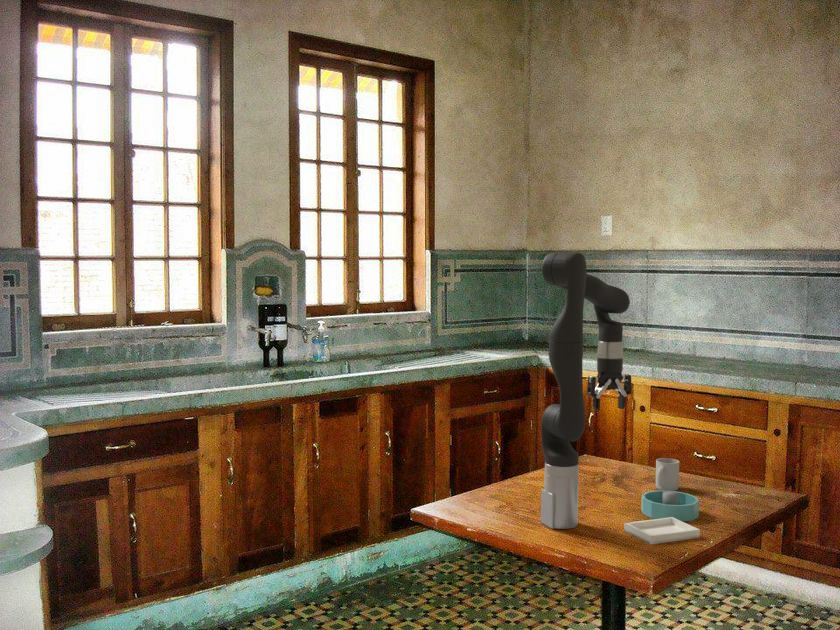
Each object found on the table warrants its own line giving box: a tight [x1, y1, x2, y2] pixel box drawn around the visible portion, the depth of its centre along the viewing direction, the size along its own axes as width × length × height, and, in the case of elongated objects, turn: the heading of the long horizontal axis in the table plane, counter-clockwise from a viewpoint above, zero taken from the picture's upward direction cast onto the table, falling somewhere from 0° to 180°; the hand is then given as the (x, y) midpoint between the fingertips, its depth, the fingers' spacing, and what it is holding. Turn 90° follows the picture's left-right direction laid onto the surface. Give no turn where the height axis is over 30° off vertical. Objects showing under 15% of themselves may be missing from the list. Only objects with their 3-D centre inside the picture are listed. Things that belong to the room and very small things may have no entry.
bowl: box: [640, 489, 700, 522], centre depth 250 cm, size 16×16×4 cm
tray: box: [623, 517, 701, 545], centre depth 231 cm, size 16×12×2 cm
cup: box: [655, 457, 680, 491], centre depth 276 cm, size 7×10×9 cm
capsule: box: [662, 491, 678, 505], centre depth 250 cm, size 4×4×5 cm
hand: (609, 409), depth 261 cm, fingers open, 8 cm apart
